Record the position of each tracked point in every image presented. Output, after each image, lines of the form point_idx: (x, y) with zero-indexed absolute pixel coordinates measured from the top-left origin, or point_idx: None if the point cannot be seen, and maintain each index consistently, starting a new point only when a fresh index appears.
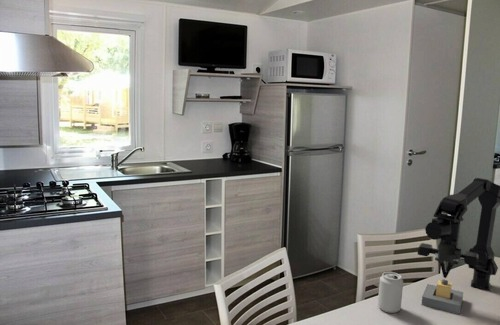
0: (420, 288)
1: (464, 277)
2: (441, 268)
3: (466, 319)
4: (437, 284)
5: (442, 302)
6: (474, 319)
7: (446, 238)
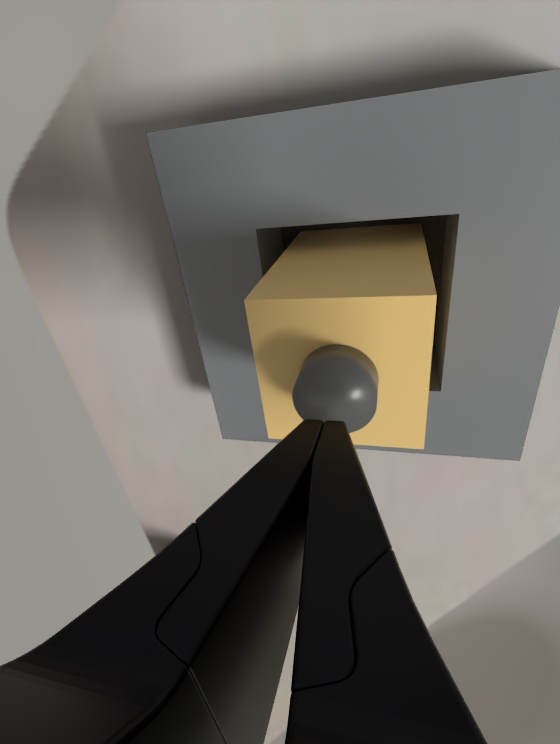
0: (556, 442)
1: None
2: (392, 557)
3: (113, 54)
4: (426, 298)
5: (331, 105)
6: (75, 113)
7: None
